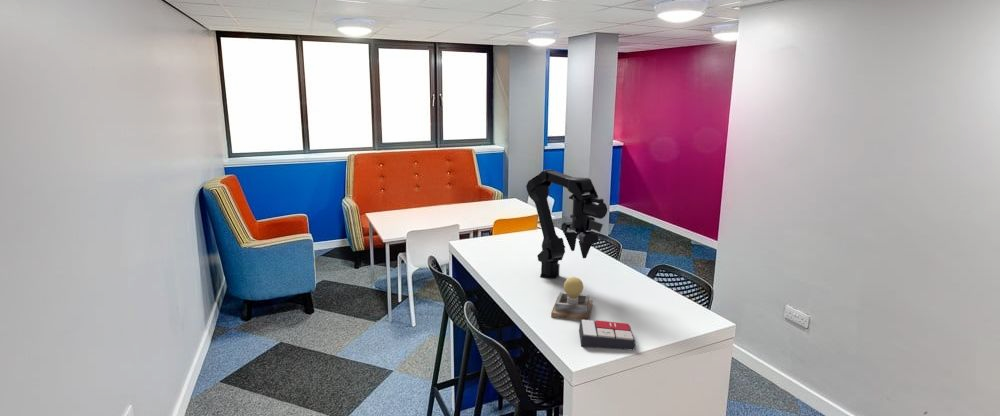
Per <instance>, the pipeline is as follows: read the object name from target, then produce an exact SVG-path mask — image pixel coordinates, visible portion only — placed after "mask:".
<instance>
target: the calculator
mask: <svg viewBox="0 0 1000 416" xmlns="http://www.w3.org/2000/svg"><path fill="white" fill-rule="evenodd" d="M578 328H579V329H578V335H579V341H580V347H582V348H594V349H595V348H604V349H605V348H606V349H612V350H613V349H615V350H628V349H632V350H631V351H634V350H635V345H636V340H635V337H634V334H633V330H632V329H631V326H630V324H629V323H626V322H625V323H624V322H616V321H615V322H614V321H608V320H607V321H606V320H605V321H604V320H598V319H597V320H596V319H595V320H592V319H591V320H590V319H589V320H579V327H578ZM633 349H634V350H633Z"/></svg>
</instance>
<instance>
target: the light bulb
mask: <svg viewBox="0 0 1000 416" xmlns="http://www.w3.org/2000/svg"><path fill="white" fill-rule="evenodd" d="M563 290H564V293H566V294H567V295H568V297H567V304H576V305H578V299H579V298H578V296H579V295H580V294H581V295H582V292H583V290H584V283H583V281H582V280H581V279H580V278H579V277H576V276H571V277H568V278H566V280H565V281H564V283H563Z"/></svg>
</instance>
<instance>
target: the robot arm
mask: <svg viewBox="0 0 1000 416" xmlns="http://www.w3.org/2000/svg"><path fill="white" fill-rule="evenodd" d="M553 184H555V185H558V186H560V187H563V188H566V189H567V191H568V192H569V193H571V195H570V196H569V197H568V199H569V200H572V214H570V216H569V217H570V219H571V221H564V222H563V223H561V228H560V230H561V231H562V233H563V235H564V237H565V238H566V240H567V243H568V246H569V248H570V249H569V250H570V251H571V252H574V251H575V248H576V243H577V238H578V239H579V240H578V244H579V248H580V253H581V257H582V259H587V256H588V254H589V252H590V250H591V247H592V246H593V245H594V244H596V243H599V242H600V235H599V234H598V233H601V231H602V228H603V226H604V224H603V223H601V222H599V221H596V219H600V220H601V219H604V218H605V217H606V215H607V213H608V207H607V204H606V203H605V202H604V198H599V196H598V192H597V190H596V188H595V186H594V184H593V182H592V179H591V178H590V177H574V176H570V175H567V174H566V173H565V174H564V173H561V172H559V171H555V170H554V169H544V170H542V171H540V173H538V174H537V175H535V176H534V177H533V178H531V179H530V180H528V182H527V184H526V186H525V187H526V191H527V194H528V197H529V198H530V199H531V201H533V202H534V203H535V208H536V212H537V216H538V220H539V224H540V228H541V232H542V235H543V240H542V242H541V243H542V244H541V251H540V252H539V253H538V255H537V261H538V262H540V263H541V268H540V269H541V272H540V275H539V277H540V278H546V279H558V276H559V275H560V270H561V269H560V268H561V267H560V266H561V265H560V263H559V261H562V260H563V258H564V255H565V253H566V246H565V243H564V239H563V237H559V236H558V235H557V233H556V229H555V224H554V221H553V218H552V213H551V209H550V204H549V201H548V197H549V194H550V190H549V189H550V187H551V186H552V185H553ZM592 230H593V231H592ZM594 231H595V232H594ZM596 232H598V233H596Z"/></svg>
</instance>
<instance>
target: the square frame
mask: <svg viewBox="0 0 1000 416" xmlns="http://www.w3.org/2000/svg"><path fill="white" fill-rule="evenodd" d="M567 297H568V295H567V294H566V292H565V291H563V292H562V291H560V292H559V294H558V296H557V297H556V300H555V303H554V305H553V306H552V310H551V312H550V318H556V319H557V318H558V319H563V320H564V319H565V320H574V321H580V320H590V315H591V312H592V308H593V302H594V301H593V300H591V299H590V295H589V294H582V293H581V294H580V295H579V296H578V298H579V299H578V305H576V304H567Z"/></svg>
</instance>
